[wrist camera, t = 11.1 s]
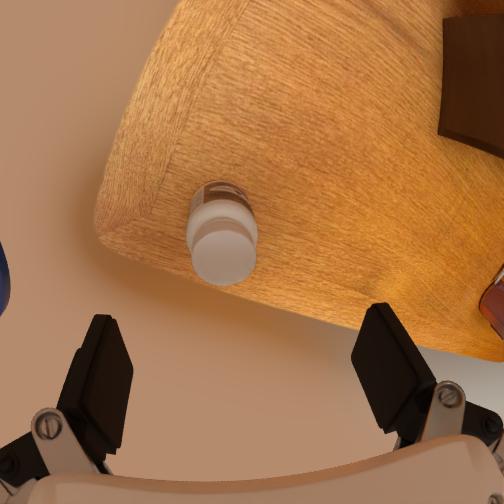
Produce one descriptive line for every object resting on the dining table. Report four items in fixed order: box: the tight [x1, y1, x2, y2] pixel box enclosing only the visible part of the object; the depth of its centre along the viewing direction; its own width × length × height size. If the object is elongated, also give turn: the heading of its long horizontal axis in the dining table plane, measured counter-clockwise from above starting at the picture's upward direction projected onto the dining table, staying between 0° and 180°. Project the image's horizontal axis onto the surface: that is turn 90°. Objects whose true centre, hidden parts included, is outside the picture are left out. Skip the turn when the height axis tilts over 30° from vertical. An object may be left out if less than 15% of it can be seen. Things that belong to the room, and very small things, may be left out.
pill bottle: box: [186, 180, 258, 286], centre depth 19 cm, size 4×4×8 cm
